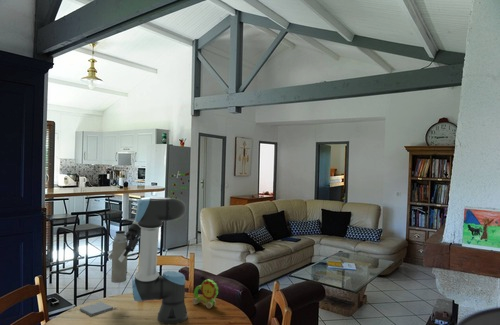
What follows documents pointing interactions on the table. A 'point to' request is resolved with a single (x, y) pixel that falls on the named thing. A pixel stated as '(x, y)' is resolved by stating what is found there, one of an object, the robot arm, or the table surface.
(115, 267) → the thermos bottle
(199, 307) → the table surface
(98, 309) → the gray square plate
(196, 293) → the toy lion
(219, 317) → the table surface
